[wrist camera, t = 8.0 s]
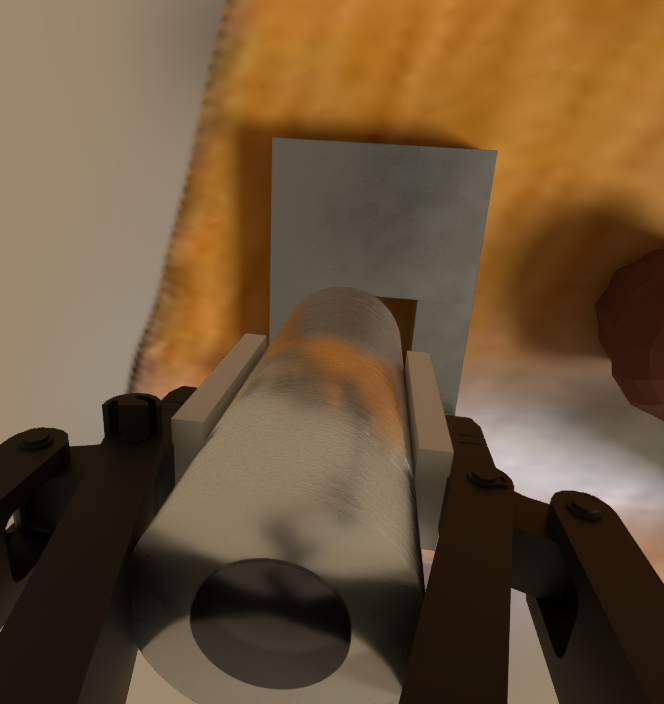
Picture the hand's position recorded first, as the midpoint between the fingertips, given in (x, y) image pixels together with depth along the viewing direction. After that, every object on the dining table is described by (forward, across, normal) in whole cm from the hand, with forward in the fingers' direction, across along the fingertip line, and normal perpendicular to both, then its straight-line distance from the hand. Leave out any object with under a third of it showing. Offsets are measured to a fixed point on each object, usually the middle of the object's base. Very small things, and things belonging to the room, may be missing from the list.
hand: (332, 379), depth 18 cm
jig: (+22, +1, -1) cm, 22 cm away
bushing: (+4, 0, 0) cm, 4 cm away
